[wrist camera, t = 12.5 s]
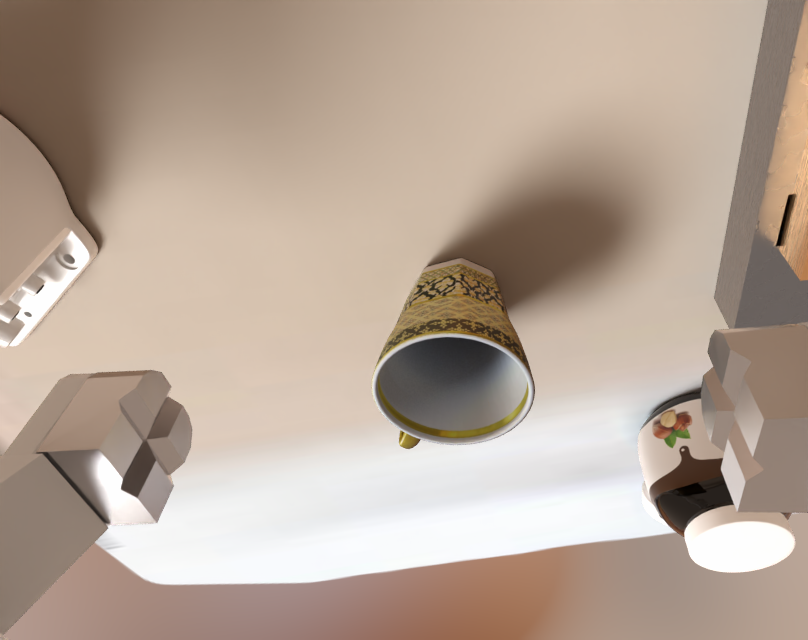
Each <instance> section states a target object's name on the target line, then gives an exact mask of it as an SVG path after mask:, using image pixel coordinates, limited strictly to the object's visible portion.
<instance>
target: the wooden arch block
mask: <svg viewBox="0 0 808 640" xmlns="http://www.w3.org/2000/svg"><path fill="white" fill-rule="evenodd" d="M781 228H782V229H783V230H784V233H783V237H782V241H781V245H780V249H779V251H780V252H781V254H782V255H783V256H784V258H785V259H786V261H787V262H788V264H789V265H790V267H791V268H792V269H793V271H794V272H795V274H796V275H797V277H798V278H799V280H800V281H802V280H808V136H807V140H806V144H805V148H804V152H803V156H802V160H801V164H800V168H799V172H798V177H797V181H796V185H795V189H794V193H793V194H790V195H788V198H787V202H786V206H785V210H784V214H783V218H782V222H781Z"/></svg>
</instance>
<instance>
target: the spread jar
mask: <svg viewBox="0 0 808 640" xmlns="http://www.w3.org/2000/svg"><path fill="white" fill-rule="evenodd" d="M637 445H638V455H639V460H640V464H641V468H642V472H643V476H644V480H645V481H644V482H643V485H642V503H643V506H644V508H645V509H646V511H647V512H648V513H649V514H650V515H651V516H652V517H653V518H654V519H656V520H657V521H659V522H661V523H663V524H665V525H668V526H669V527H670V528H672V529H673V530H674V531H675V532H677V533H678V534H679V535H681V536H683V537H684V538H685V541H686V544H687V547H688V551H689V554H690V556H691V558H692V560H694V561H695V562H696V563H697V564H699V565H700V566H702V567H705V568H707V569H711V570H715V571H722V572H747V571H753V570H758V569H762V568H766V567H768V566H771V565H774V564H776V563H778V562H780V561H782V560H783V559H784V558H786V557H787V556H788V555H789V554H790V553H791V552H792V551H793V549H794V547H795V542H796V540H795V537H794V535H793V532H792V530H791V528H790V526H789V523H788V521H787V520H788V519H789V517H790V515H791V514H792V513H774V512H737V510H736V508H735V505H734V503H733V500H732V497H731V495H730V492H729V490H728V487H727V484H726V482H725V479H724V477H723V474H722V471H721V466H722V461H723V457H724V453H725V452H723V451H722V450H721V449H719V448H718V447H717V446H715V445H714V444H713V443H711V442H710V439H709V436H708V433H707V430H706V428H705V424H704V419H703V415H702V406H701V392H700V393H693V394H688V395H684V396H681V397H678V398H675V399H673V400H671V401H669V402H667V403H666V404H664V405H663V406H661V407H660V408H659V409H657V410H656V411H655V412H654V413H653V414H652V415H651V416H650V417H649V418H648V419H647V420H646V422H645V423H644V424H643V426H642V428H641V430H640V432H639V435H638V443H637Z"/></svg>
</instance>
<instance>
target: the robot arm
mask: <svg viewBox="0 0 808 640" xmlns="http://www.w3.org/2000/svg"><path fill="white" fill-rule="evenodd" d="M97 253H98V247H97V244H96V242H95V241H94V239H93V238H92V236H91V235H90V234H89V232H88V231H87V230H86V229H85V227H84V226H83V225H82V224H81V223H80V222H79V220H78V219H77V218H76V217H75V215H74V214H73V212H72V210H71V208H70V206H69V203H68V201H67V198H66V195H65V193H64V190H63V188H62V186H61V183H60V181H59V180H58V178H57V176H56V174H55V172H54V171H53V169H52V167H51V166H50V165H49V163H48V162H47V160H46V159H45V158H44V156H43V155H42V154H41V152H40V151H39V150H38V149H37V148H36V146H35V145H34V144H33V143H32V142H31V141H30V140H29V139H28V138H27V137H26V136H25V135H24V134H23V133H22V132H21V131H20V130H19V129H18V128H16V127H15V126H14V125H13V124H12V123H11V122H9V121H8V120H7V119H6V118H4V117H3V116H2V115H0V346H1V347H2V348H3V347H5V348H7V347H8V346H17V345H19V344H21V343H22V342H23V341H24V340H25V339H26V338H27V337H28V336H29V335H30V334H31V333H32V331H33V330H34V329H35V328H36V327H37V326H38V324H39V323H40V322H41V321H42V320H43V318H44V317H45V316H46V315H47V314H48V312H49V311H50V310H51V309H52V308H53V307H54V305H55V304H56V303H57V302H58V301H59V299H60V298H61V297H62V296H63V295H64V294H65V292H66V291H67V290H68V289H69V288H70V286H71V285H72V284H73V283H74V282H75V281H76V279H77V278H78V277H79V276H80V275H81V273H82V272H83V271H84V270H85V269H86V268H87V266H88V265H89V264H90V263H91V262H92V260H93V259H94V258H95V257H96V255H97ZM70 255H71V256H72V257H71V256H70ZM708 354H709V357H710V359H711V361H712V364H713V366H714V367H713V368H711V369H710V370H709V371H708V372H707V373H706V374H705V375H703V381H702V388H701V406H702V415H703V419H704V424H705V428H706V430H707V433H708V436H709V439H710V442H711V443H713V444H714V445H715V446H717V447H718V448H719V449H721V450H722V451H723V452H725V453H724V457H723V461H722V466H721V471H722V474H723V477H724V479H725V482H726V484H727V487H728V490H729V492H730V495H731V497H732V500H733V503H734V505H735V508H736V510H737V512H774V513H808V322H805V323H798V324H786V325H773V326H760V327H747V328H735V329H722V330H715V331H714V333H713V334H712V336H711V338H710V342H709V347H708ZM170 390H171V385H170V384H169V382H168V381H167V379H166V378H165V376H164V375H163V374H162V372H158V371H153V370H143V371H121V372H98V373H94V374H70V375H68V376H66V377H64V378H62V379H60V380H59V381H58V382H57V384H56V385H55V386H54V388H53V389H52V390H51V392H50V393H49V394H48V396H47V397H46V398H45V400H44V401H43V402H42V404H41V405H40V406H39V408H38V409H37V410H36V412H35V413H34V414H33V416H32V417H31V418H30V420H29V421H28V422H27V424H26V425H25V426H24V428H23V429H22V431H21V432H20V433H19V435H18V436H17V437H16V439H15V440H14V441H13V443H12V444H11V445H10V447H9V448H8V449H7V451H6V452H5V453H4V455H0V640H9V639H8V638H6V637H5V636H4V634H5V633H6V632H7V631H8V630H9V629H10V628H11V627H12V626H13V625H14V624H15V623H16V622H17V621H18V620H19V619H20V618H21V617H22V616H23V614H25V612H27V610H28V609H29V608H30V607H31V606H32V605H33V604H34V603H35V602H36V601H37V600H38V599H39V598H40V597H41V596H42V595H43V594H44V593H45V592H46V591H47V590H48V589H49V588H50V587H51V586H52V585H53V584H54V583H55V582H56V581H57V580H58V579H59V578H60V577H61V576H62V575H63V574H64V573H65V572H66V571H67V570H68V569H69V568H70V567H71V566H72V565H73V564H74V563H75V562H76V560H78V558H79V557H81V556H82V554H83V553H84V552H85V551H86V550H87V549H88V548H89V547H90V546H91V545H92V544H93V543H94V542H95V541H96V540H97V539H98V538H99V537H100V536H101V535H102V534H103V533H104V532H105V531H106V530H107V529H108V527H107V526H108V525H128V524H149V523H157V522H158V520H159V517H160V515H161V513H162V511H163V509H164V506H165V504H166V502H167V500H168V498H169V495H170V493H171V491H172V489H173V487H174V485H173V482H172V479H171V475H170V474H172V473H173V472H174V471H175V470H176V469H177V468H179V467H180V466H181V465H182V464H183V463H184V462H185V460H186V457H187V455H188V453H189V450H190V448H191V439H192V426H191V422H190V418H189V415H188V414H187V412H186V410H185V408H184V407H183V406H182V405H181V404H179V403H178V402H176V401H174V400H173V399H171V398H170V397H169V393H170Z"/></svg>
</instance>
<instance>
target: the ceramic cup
mask: <svg viewBox="0 0 808 640" xmlns="http://www.w3.org/2000/svg"><path fill="white" fill-rule="evenodd" d="M372 394H373V398H374V401H375V403H376V405H377V407H378V409H379V410H380V412H381V413H382V414H383V416H384V417H385V418H386V419H387V420H388V421H389V422H390V423H391V424H393V425H394V426H395V427H397V428H398V429H400V430H401V431H400V437H399V444H400V446H401V447H403V448H406V449H411V448H413V447H414V446H416V445H417V444H418V443H419V441H420V440H425V441H428V442H433V443H438V444H446V445H467V444H475V443H480V442H484V441H488V440H492V439H494V438H497V437H499V436H501V435H504V434H505V433H507V432H509V431H510V430H512V429H513V428H515V427H516V426H517V425H518V424H519V423H520V422H521V421H522V420H523V419H524V418H525V417H526V415H527V414H528V412H529V411H530V409H531V406H532V404H533V400H534V394H535V386H534V381H533V377H532V374H531V370H530V367H529V364H528V361H527V358H526V355H525V352H524V350H523V347H522V344H521V342H520V340H519V337H518V335H517V333H516V331H515V329H514V327H513V326H512V324H511V322H510V320H509V317H508V314H507V311H506V307H505V304H504V301H503V298H502V295H501V293H500V290H499V287H498V284H497V281H496V278H495V276H494V274H493V273H492V271H491V270H489V269H487V268H484V267H482V266H480V265H477V264H475V263H473V262H470V261H468V260H466V259H463V258H458V259H454V260H451V261H447V262H443V263H439V264H435V265H431V266H428V267H426V268H425V269H424V270H423V271H422V273H421V275H420V276H419V278H418V280H417V282H416V283H415V285H414V287H413V288H412V290H411V292H410V294H409V296H408V298H407V300H406V302H405V305H404V308H403V310H402V312H401V315H400V317H399V319H398V322H397V324H396V326H395V328H394V330H393V331H392V333H391V334H390V336H389V338H388V340H387V342H386V344H385V346H384V348H383V350H382V352H381V355H380V357H379V360H378V362H377V365H376V368H375V370H374V373H373V377H372Z"/></svg>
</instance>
